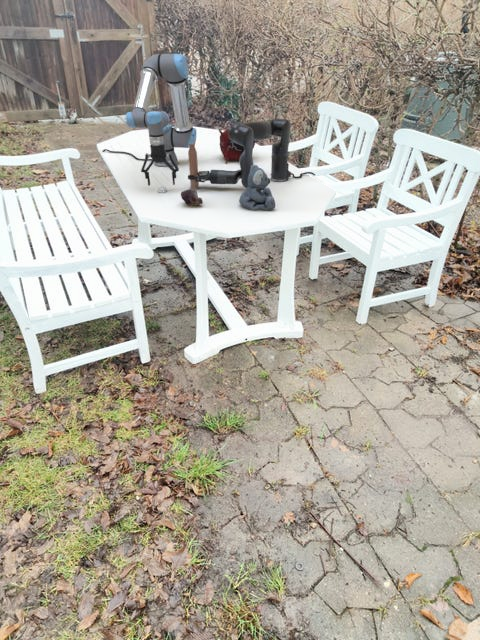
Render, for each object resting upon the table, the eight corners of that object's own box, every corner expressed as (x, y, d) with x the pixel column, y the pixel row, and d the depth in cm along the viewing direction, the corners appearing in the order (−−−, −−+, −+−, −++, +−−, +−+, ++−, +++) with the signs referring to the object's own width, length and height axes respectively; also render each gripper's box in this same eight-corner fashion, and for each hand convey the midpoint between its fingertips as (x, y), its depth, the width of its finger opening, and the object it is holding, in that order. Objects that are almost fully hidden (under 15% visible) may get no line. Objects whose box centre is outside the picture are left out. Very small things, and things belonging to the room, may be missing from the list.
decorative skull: (216, 132, 306) (216, 129, 283) (250, 124, 306) (252, 120, 282) (223, 164, 313) (223, 164, 290) (256, 156, 312) (259, 156, 289)
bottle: (190, 189, 252) (187, 144, 238) (191, 186, 256) (188, 142, 242) (198, 189, 252) (195, 144, 238) (199, 186, 256) (196, 142, 242)
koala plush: (276, 211, 223) (277, 171, 212) (240, 212, 222) (240, 172, 211) (271, 199, 237) (272, 161, 226) (237, 200, 236) (237, 162, 225)
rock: (196, 202, 238) (178, 205, 233) (194, 185, 234) (176, 188, 230) (205, 205, 228) (187, 208, 224) (203, 188, 224) (185, 191, 220)
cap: (163, 193, 247) (162, 189, 246) (156, 192, 248) (156, 188, 247) (167, 190, 250) (167, 187, 249) (161, 189, 251) (161, 186, 250)
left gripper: (132, 146, 231) (137, 187, 244) (180, 145, 232) (183, 186, 244) (134, 142, 238) (139, 182, 250) (181, 142, 238) (184, 181, 250)
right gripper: (221, 166, 252) (191, 165, 254) (216, 174, 240) (185, 172, 242) (221, 179, 256) (192, 178, 258) (217, 187, 244) (186, 186, 246)
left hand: (161, 184), depth 247 cm, fingers open, 13 cm apart
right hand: (189, 175), depth 250 cm, fingers closed on bottle, 4 cm apart
